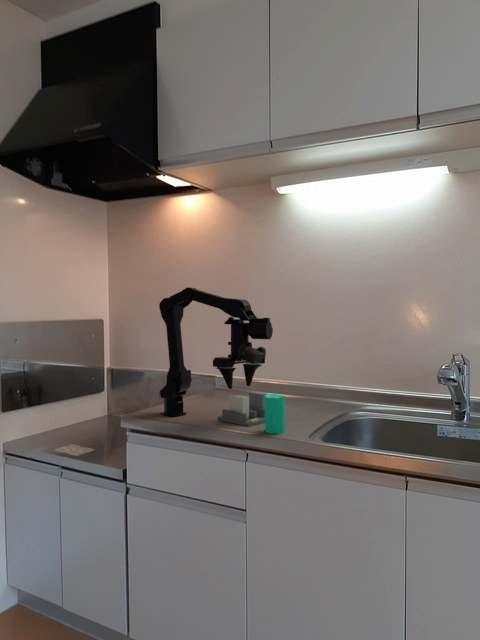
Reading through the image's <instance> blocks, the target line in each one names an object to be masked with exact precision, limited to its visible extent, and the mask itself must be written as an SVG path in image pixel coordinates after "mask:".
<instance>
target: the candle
mask: <svg viewBox="0 0 480 640" xmlns="http://www.w3.org/2000/svg"><path fill="white" fill-rule="evenodd" d="M285 423H286V397H285V395H282V394H278V393H277V394H276V393H268V394H267V395H265V423H264V432H266V433H268V434H283V433H285V432H286V424H285Z"/></svg>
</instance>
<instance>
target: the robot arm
mask: <svg viewBox="0 0 480 640" xmlns="http://www.w3.org/2000/svg"><path fill="white" fill-rule="evenodd" d="M193 301H194V302H196V303H200V304H203V305H206V306H209V307H213V308H216V309H218V310H221V311H222V312H223V313H224V314H227V315H228V316H229V317H228V318H227V319H226V321H224V324H225V325H230V341H227V346H230V354H228V355H227V356H217V357H216V356H215V357H214V358H213V359H212V367H214V368H215V367H216V369H217V370H219V373H220V374H221V376H222V378H223V379H224V381H225V384H226V387H227V388H228V389H229V390H233V389H232V388H233V380H234V379H233V377H234V376H233V375H234V372H235V370H236V367H234V366H235V365H236V364H237V365H239V364H242V366H243V371H244V377H245V378H244V379H245V382H246V383H245V384H246V386H247V387H250V386H251V384H252V381H253V378H254V376H255V372H256V371H257V369H259V367H262V365H263V364H265V363H266V354H267V352H266V348H265V347H264V346H258V347H257V348H255V347H253V343H252V342H251V341H250V340H249V339H250V338H251V339H252V340H271V339H272V337H273V331H274V330H273V329H274V328H273V325H272V322H271V318H270V317H262V318H261V317H259V318H258V317H257V316H256V314H255V313H254V311H253V310H252V306H251V303H250V302H249V301H248V300H247V299H241V298H229V297H223V296H220V295H217V294H213V293H210V292H208V291H204V290H200V289H197V288H195V287H185V288H183V289H182V290H181V291H179V292H177V293H175V294H172V295H171V296H169V297H164V298H162V300H161V301H160V302H159V305H158V306H159V307H158V308H159V313H160V315H161V318H162V320H163V322H164V323H165V329H166V340H167V349H168V350H167V351H168V362H169V369H168V370H167V374H166V379H165V380H166V382H165V383H166V384H165V385H164V386H163V387H162V389H160V390H159V395H160V398H161V399H163V402H164V403H163V405H164V406H163V409H164V410H163V411H162V412H160V415H163V416H167V417H169V418H170V417H171V418H173V417H177V416H183V415H187V412H186V411H184V396H185V395H187V392H188V390H189V388H190V387H191V384H192V382H193V379H192V371H191V369H187V368H186V366H185V362H184V359H185V358H184V350H183V349H184V348H183V339H182V328H181V327H182V326H181V322H182V320H183V317H184V311H185V308H186V307H188V306H189V305H190V304H191V303H193ZM235 318H237V319H235ZM249 337H250V338H249Z"/></svg>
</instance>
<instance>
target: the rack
mask: <svg viewBox="0 0 480 640" xmlns="http://www.w3.org/2000/svg"><path fill="white" fill-rule="evenodd" d="M267 394H269V393H267V392H261V391H249V393H248V397H249V419H247V414H245V413H241V412H236V411H231V410H230V409H225V408H224V409H223V408H222V410H221V411H222V413H221V414H222V415H217V420H219V421H223V422H228V423H232V424H237V425H240V426H246V427H253V426H257V425H260V424H261V425H262V424H265V395H267Z"/></svg>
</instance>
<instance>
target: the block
mask: <svg viewBox="0 0 480 640" xmlns="http://www.w3.org/2000/svg"><path fill="white" fill-rule="evenodd" d="M229 410H231V411H236V412H241V413H245V414H247V419H249V396H244V395H239V394H233V395H229Z"/></svg>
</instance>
